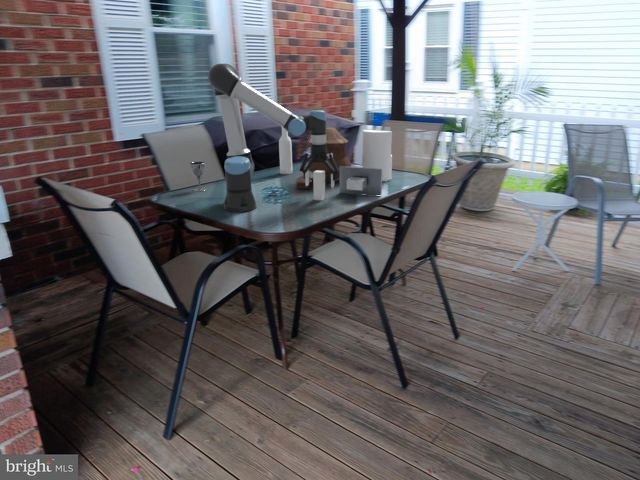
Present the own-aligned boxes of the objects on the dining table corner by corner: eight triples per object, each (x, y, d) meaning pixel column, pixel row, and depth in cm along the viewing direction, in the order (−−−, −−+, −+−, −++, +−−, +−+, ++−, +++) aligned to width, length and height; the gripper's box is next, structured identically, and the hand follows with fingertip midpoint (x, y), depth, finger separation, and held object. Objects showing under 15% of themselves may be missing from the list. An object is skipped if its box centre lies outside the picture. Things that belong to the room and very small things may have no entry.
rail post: (322, 200, 240) (321, 172, 236) (313, 199, 242) (313, 172, 237) (325, 198, 244) (324, 170, 240) (316, 197, 246) (316, 170, 241)
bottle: (277, 173, 304) (275, 124, 294) (286, 171, 309) (284, 123, 299) (286, 175, 298) (284, 125, 288) (295, 173, 304) (293, 124, 294)
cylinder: (384, 183, 274) (385, 133, 265) (356, 180, 283) (357, 131, 273) (396, 177, 288) (398, 129, 279) (370, 174, 297) (371, 128, 287)
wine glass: (210, 189, 264) (207, 162, 259) (198, 192, 259) (195, 164, 254) (202, 187, 270) (199, 160, 264) (189, 190, 264) (186, 163, 259)
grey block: (375, 201, 237) (376, 173, 233) (333, 197, 245) (333, 170, 240) (381, 195, 248) (382, 168, 243) (340, 192, 255) (340, 166, 250)
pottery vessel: (336, 186, 268) (336, 131, 257) (298, 181, 281) (297, 129, 271) (358, 177, 288) (359, 126, 278) (322, 173, 301) (322, 124, 291)
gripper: (345, 142, 233) (345, 185, 240) (297, 141, 241) (299, 183, 248) (340, 145, 226) (341, 189, 233) (291, 143, 235) (293, 186, 242)
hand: (319, 186), depth 241 cm, fingers open, 13 cm apart
